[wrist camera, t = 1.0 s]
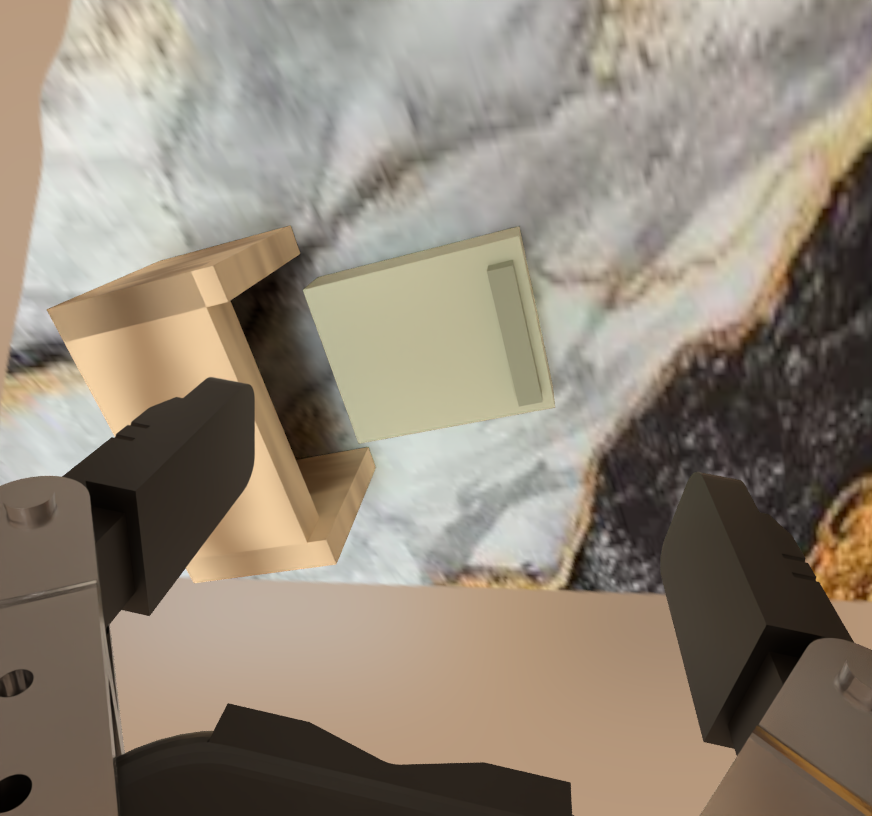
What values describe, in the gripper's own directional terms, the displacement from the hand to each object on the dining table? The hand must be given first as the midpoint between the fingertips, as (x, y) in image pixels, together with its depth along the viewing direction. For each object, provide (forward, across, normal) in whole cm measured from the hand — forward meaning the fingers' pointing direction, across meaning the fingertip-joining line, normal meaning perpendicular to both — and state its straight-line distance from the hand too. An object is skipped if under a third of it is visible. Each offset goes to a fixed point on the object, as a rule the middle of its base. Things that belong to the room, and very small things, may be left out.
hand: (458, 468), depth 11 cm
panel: (+23, +3, +6) cm, 24 cm away
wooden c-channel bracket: (+22, +12, +10) cm, 27 cm away
